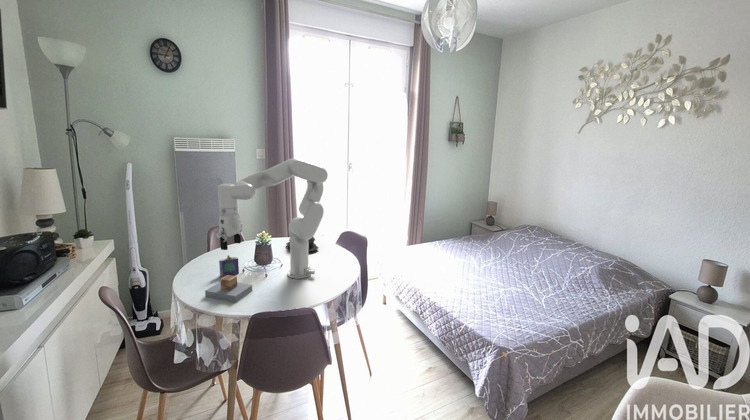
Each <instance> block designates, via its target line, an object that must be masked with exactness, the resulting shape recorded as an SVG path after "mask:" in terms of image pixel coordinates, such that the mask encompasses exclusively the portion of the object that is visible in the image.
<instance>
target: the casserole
mask: <svg viewBox="0 0 750 420" xmlns="http://www.w3.org/2000/svg"><path fill="white" fill-rule="evenodd" d="M315 241H316V238H315V236H313V237H312V238H311V239H309V240H308V244H309V247H308V253H309V252H314V251H316V250H318V249H319V247H318V246H317V244H316V243H315ZM285 244H286V246H287V247H288V249H290V238H289V239H288V242H286V243H285Z"/></svg>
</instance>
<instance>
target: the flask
mask: <svg viewBox="0 0 750 420" xmlns="http://www.w3.org/2000/svg"><path fill="white" fill-rule="evenodd" d="M218 263H219V276H220V277H221V278H223V277H225V276H227V275H232V276H237V275H239V274H240V266H239V258H238V257H236V256H233V257H231V256H230V255H229V254H228V255H226V258H222V259H219V261H218Z"/></svg>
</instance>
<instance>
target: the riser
mask: <svg viewBox="0 0 750 420" xmlns="http://www.w3.org/2000/svg"><path fill="white" fill-rule="evenodd" d="M251 292H253V284H248V283H242V282H237V287H235V288H234V289H232V290H231V291H228V290H223V289H221V282H220V281H219V282H216V284H215V285H212V286H211V287H208V288H207V289H206V290H204V294H205V296H204V297H205V298H209V299H215V300H220V301H225V300H226V301H225V302H231V303H232V302H233V303H237V302H239V301H240V300H242V299H243V298H244V297H246V296H247V295H248V294H250V293H251Z"/></svg>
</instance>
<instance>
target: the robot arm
mask: <svg viewBox="0 0 750 420" xmlns="http://www.w3.org/2000/svg"><path fill="white" fill-rule="evenodd" d="M293 177H296V178H299V179H303V180H304V181H305V180H306V182H307V188H306V191H305V194H304V196H303V198H302V200H301V202H300V205H299V207H298V211H299V213H300V215H302V216H303V217H300V216H299V217H293V218H292V219H291V220H290V221H289V224H288V234H289V239H290V241H289V242H290V248H289V250H290V252H289V254H290V255H289V258H290V263H289V265H290V268H289V269H290V270H288V272H287V276H288V278H290V279H294V280H300V279H306V278H308V277H311V276H312V275H315V274H316V271H315V268H311V265H309V252H308V247H309V244H308V240H309V239H311V238H312V237H315V234H316V233H317V230H318V228H319V225H320V224H321V221H322V220H323V217H324V211H325V210H324V206H323V205H322V204H321V203H320V201H321V198H322V196H323V193H324V183H325V182H326V180H327V179H328V177H329V176H328V172H327V170H326V168H324V167H322V166H320V165H317V164H313V163H311V162H307V161H305V160H303V159H299V158H294V157H293V158H289V159H287V160H284V161H283V162H280V163H277V164H275V165H273V166H272V167H269V168H268V169H265V170H262V171H259V172H256V173H253V174H250V175H248V176H247V177H244V178H242V179H240V180H238V181H237V182H235V184H233V183H221V184H219V185H218V186H217V196H218V197H217V198H218V208H219V217H218V219H219V220H218V232H217V233H216V234H215V236H216V238H217V240H218V242H219V244H220V245H219V246H220V250H222V251H223V250H224V251H227V250H228V249H229V248H228V241H227V240H228V238H230V237H233V243H234V244H241V243H242V239H241V235H242V230H243V224H241V218H240V214H239V212H238V200H239V201H240V200H243V201H244V200H247V201H248V200H251V199H253V198H254V197H255V195H256V190H258V189H261V188H265V187H274V186H277V185H280V184H281V183H283V182H285V181H287V180H289V179H292V178H293Z"/></svg>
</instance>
